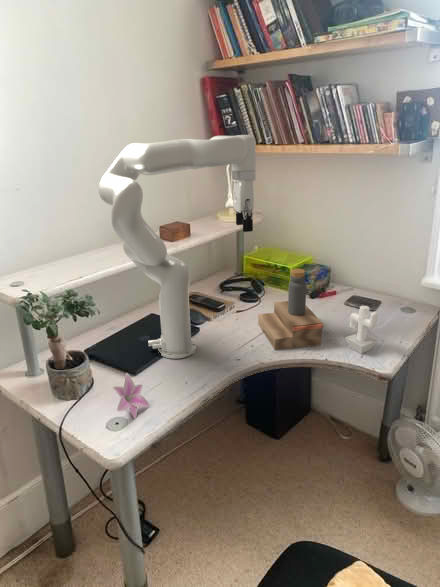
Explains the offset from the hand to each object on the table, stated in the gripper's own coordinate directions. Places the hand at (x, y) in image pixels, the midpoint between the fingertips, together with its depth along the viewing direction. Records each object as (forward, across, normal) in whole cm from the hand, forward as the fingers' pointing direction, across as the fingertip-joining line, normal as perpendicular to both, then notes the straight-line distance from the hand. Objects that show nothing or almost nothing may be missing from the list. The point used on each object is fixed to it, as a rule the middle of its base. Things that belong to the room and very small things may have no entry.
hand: (244, 228), depth 153 cm
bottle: (+28, +10, +16) cm, 34 cm away
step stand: (+36, +10, +13) cm, 40 cm away
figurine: (+36, +26, +32) cm, 55 cm away
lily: (+37, +42, -42) cm, 69 cm away
